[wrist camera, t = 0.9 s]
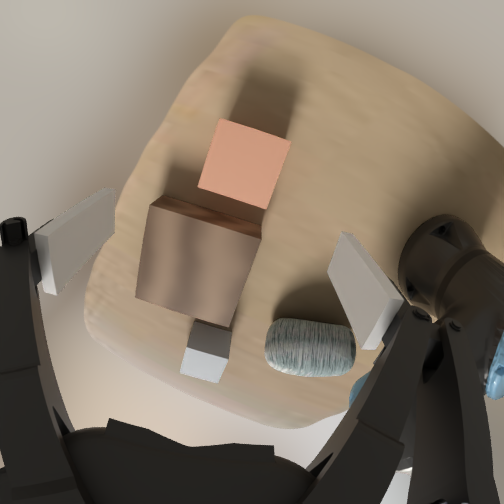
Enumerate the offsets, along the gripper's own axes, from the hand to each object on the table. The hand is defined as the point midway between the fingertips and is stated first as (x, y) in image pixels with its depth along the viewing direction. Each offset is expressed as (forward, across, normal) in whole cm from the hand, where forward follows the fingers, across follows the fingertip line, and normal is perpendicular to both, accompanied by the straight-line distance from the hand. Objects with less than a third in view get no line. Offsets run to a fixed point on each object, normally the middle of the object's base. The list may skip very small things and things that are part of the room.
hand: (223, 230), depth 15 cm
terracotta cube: (+19, -1, -2) cm, 19 cm away
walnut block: (+19, +3, +12) cm, 23 cm away
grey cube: (+18, 0, +26) cm, 32 cm away
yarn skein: (+18, -15, +21) cm, 32 cm away
